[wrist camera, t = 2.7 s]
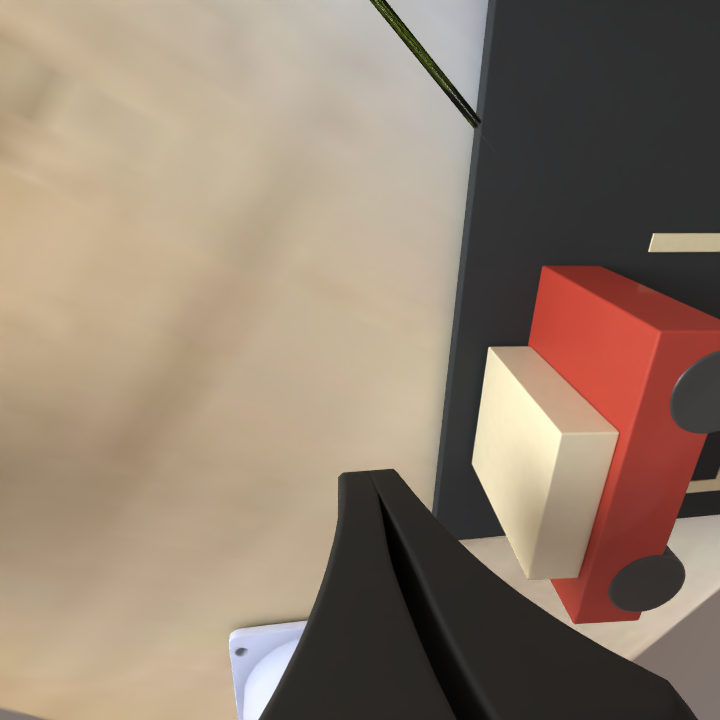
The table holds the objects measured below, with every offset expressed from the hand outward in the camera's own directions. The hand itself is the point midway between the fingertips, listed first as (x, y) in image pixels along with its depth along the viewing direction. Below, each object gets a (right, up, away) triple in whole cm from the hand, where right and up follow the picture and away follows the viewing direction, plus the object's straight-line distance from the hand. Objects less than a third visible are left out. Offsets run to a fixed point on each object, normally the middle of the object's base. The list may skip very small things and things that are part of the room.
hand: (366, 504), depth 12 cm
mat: (+10, +6, +6) cm, 13 cm away
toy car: (+6, +2, +6) cm, 9 cm away
